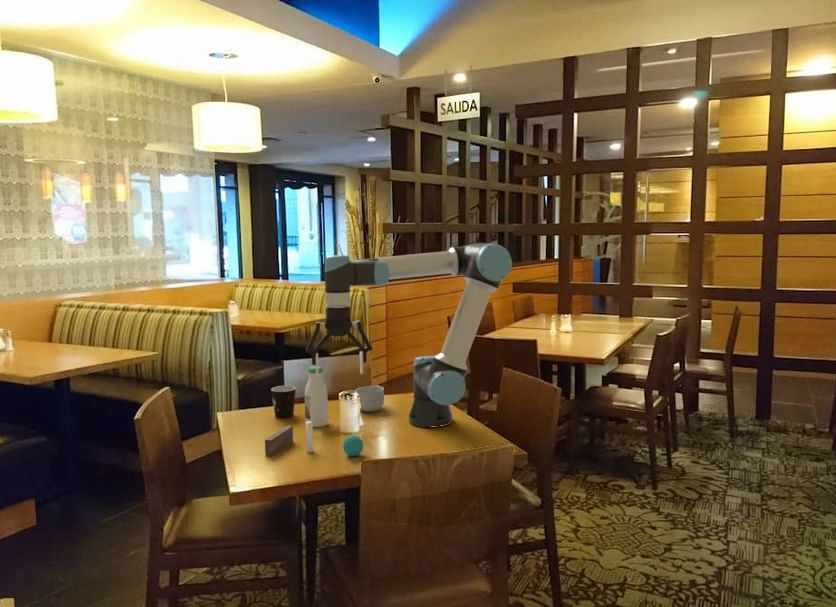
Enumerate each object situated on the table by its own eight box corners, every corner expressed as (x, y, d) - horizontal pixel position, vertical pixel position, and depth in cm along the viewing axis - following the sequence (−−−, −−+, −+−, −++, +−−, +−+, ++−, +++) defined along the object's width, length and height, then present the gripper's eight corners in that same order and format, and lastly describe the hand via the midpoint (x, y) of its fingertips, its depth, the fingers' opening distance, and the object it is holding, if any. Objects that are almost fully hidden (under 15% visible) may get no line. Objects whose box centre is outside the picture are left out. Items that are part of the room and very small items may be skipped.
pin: (314, 450, 192) (313, 421, 191) (311, 452, 190) (310, 423, 189) (308, 450, 193) (307, 421, 192) (305, 452, 191) (304, 423, 190)
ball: (366, 453, 190) (366, 433, 189) (359, 460, 184) (358, 440, 183) (347, 451, 192) (347, 431, 191) (340, 458, 186) (339, 438, 185)
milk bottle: (330, 421, 221) (329, 365, 219) (325, 428, 214) (323, 370, 211) (308, 420, 222) (307, 364, 220) (302, 427, 214) (301, 369, 212)
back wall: (293, 441, 201) (292, 426, 200) (271, 456, 187) (271, 440, 187) (287, 440, 201) (286, 425, 201) (265, 456, 188) (264, 439, 187)
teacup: (372, 415, 228) (372, 393, 227) (349, 411, 234) (348, 389, 233) (394, 406, 240) (394, 385, 239) (371, 402, 245) (371, 382, 244)
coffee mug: (273, 412, 232) (272, 386, 231) (297, 412, 233) (296, 385, 231) (269, 422, 220) (268, 394, 219) (294, 421, 221) (293, 393, 220)
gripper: (377, 303, 200) (378, 369, 202) (296, 305, 195) (298, 373, 198) (380, 306, 192) (381, 374, 195) (296, 308, 188) (298, 378, 191)
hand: (339, 374), depth 196 cm, fingers open, 13 cm apart
